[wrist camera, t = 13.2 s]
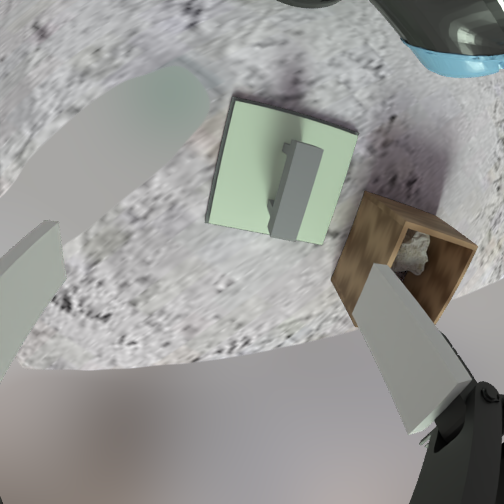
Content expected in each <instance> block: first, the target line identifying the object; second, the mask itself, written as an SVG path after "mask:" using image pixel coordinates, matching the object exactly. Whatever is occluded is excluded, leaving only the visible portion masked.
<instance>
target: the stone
mask: <svg viewBox="0 0 504 504" xmlns="http://www.w3.org/2000/svg"><path fill="white" fill-rule="evenodd" d="M429 244H430V235H428V234H425V233H421V232H418V231H415V230H412V229H409V228H408V230H407V232H406V235H405V237H404V239H403V242H402V244H401V246H400V249H399V251H398V253H397V255H396V258H395V260H394V262H393V264H392V266H391V270H392V271H393V272H398V271H401V272H402V271H407V270H408V271H410V272H412V273H413V274H415V275H421V272H423V271H424V266H425V263H426V262H427V261H428V256H427V253H426V251H427V249H428V246H429Z"/></svg>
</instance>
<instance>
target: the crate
mask: <svg viewBox="0 0 504 504" xmlns="http://www.w3.org/2000/svg"><path fill="white" fill-rule="evenodd" d="M408 228H409V229H412V230H415V231H418V232H421V233H425V234H428V235H430V244H429V246H428V249H427V251H426V253H427V256H428V261H427V262H426V263H425V266H424V271H423V272H421V275H415V274H413V273H412V272H410V271H408V272H407V274H406V276H405V278H404V280H403V282H402V283H403V284H404V285H405V287H406V288H407V289H408V290H409V292H410V293H411V294H412V295H413V297H414V298H415V299H416V301H417V302H418V303H419V304H420V306H421V307H422V308H423V310H424V311H425V312H426V314H427V315H428V316H429V318H430V319H431V320H432V322H433V323H434V324H435V325H436V323H437V321H438V320H439V318H440V317H441V315H442V313H443V312H444V310H445V308H446V307H447V305H448V303H449V302H450V300H451V298H452V297H453V295H454V293H455V291H456V289H457V288H458V286H459V284H460V282H461V280H462V278H463V276H464V274H465V272H466V270H467V269H468V267H469V265H470V262H471V260H472V258H473V256H474V254H475V252H476V250H477V248H478V246H477V245H476V244H474V243H473V242H472V241H471V240H469V239H468V238H466V237H465V236H464V235H462V234H461V233H460V232H458V231H457V230H456V229H454V228H453V227H451V226H450V225H448V224H447V223H446V222H444V221H443V220H441V219H440V218H438V217H437V216H435V215H433V214H430V213H427V212H425V211H422V210H419V209H417V208H414V207H411V206H408V205H406V204H403V203H400V202H397V201H394V200H391V199H388V198H385V197H382V196H379V195H376V194H373V193H370V192H367V191H365V192H364V195H363V198H362V201H361V204H360V206H359V209H358V212H357V215H356V217H355V220H354V223H353V225H352V228H351V231H350V233H349V236H348V239H347V241H346V244H345V246H344V249H343V251H342V254H341V256H340V259H339V261H338V264H337V266H336V269H335V271H334V273H333V276H332V278H331V282H332V283H333V285H334V287H335V289H336V291H337V293H338V295H339V297H340V299H341V301H342V302H343V304H344V306H345V308H346V310H347V312H348V314H349V316H350V318H351V320H352V322H353V324H354V326H355V327H358V325H357V323H356V321H355V319H354V317H353V315H352V312H353V310H354V308H355V306H356V304H357V301H358V299H359V297H360V295H361V292H362V290H363V288H364V285H365V283H366V281H367V278H368V276H369V273H370V271H371V268H372V266H373V263H376V264H383V265H388V266H389V267H390V268H391V266H392V264H393V262H394V260H395V258H396V255H397V253H398V251H399V249H400V246H401V244H402V242H403V239H404V237H405V235H406V232H407V230H408Z"/></svg>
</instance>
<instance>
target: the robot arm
mask: <svg viewBox="0 0 504 504" xmlns="http://www.w3.org/2000/svg"><path fill="white" fill-rule="evenodd" d="M277 1H279V2H282V3H285V4H288V5H291V6H295V7H301V8H322V7H327V6H331V5H333V4H336V3H337V2H339V1H341V0H277ZM369 1H370V2H371V3H372V4H373V5H374V6H375V7H376V8H377V10H378V11H379V12H380V13H381V14H382V15H383V16H384V17H385V19H386V20H387V21H388V22H389V23H390V25H391V26H392V27H393V28H394V29H395V31H396V32H397V33H398V34H399V36H400V39H401V40H402V42H403V43H404V44H405V45H406V46H408V47H409V48H410V49H411V50H412V51H413V53H414V54H415V55H416V57H417V58H418V59H419V61H420V62H421V63H422V64H423V65H424V66H425V67H426V68H427V69H428V70H430V71H432V72H435V73H437V74H439V75H442V76H446V77H453V78H471V77H480V76H486V75H490V74H494V73H497V72H499V69H504V0H369ZM66 279H67V278H66V272H65V266H64V259H63V252H62V245H61V236H60V227H59V222H56V221H48V220H45V221H43V222H42V223H41V224H40V225H38V226H37V227H36V228H35V229H33V230H32V231H31V232H30V233H29V234H27V235H26V236H25V237H24V238H23V239H21V240H20V241H19V242H18V243H17V244H16V245H15V246H13V247H12V248H11V249H10V250H9V251H8V252H7V253H6V254H5V255H3V257H1V258H0V383H1V381H2V379H3V377H4V375H5V374H6V372H7V370H8V368H9V366H10V364H11V363H12V361H13V359H14V358H15V356H16V354H17V352H18V351H19V349H20V347H21V346H22V344H23V342H24V341H25V339H26V338H27V336H28V334H29V333H30V331H31V330H32V328H33V326H34V325H35V323H36V322H37V320H38V319H39V317H40V316H41V314H42V313H43V311H44V310H45V308H46V307H47V306H48V304H49V303H50V301H51V300H52V298H53V297H54V296H55V294H56V293H57V291H58V290H59V289H60V287H61V286H62V285H63V283H64V282H65V281H66ZM352 315H353V317H354V319H355V321H356V323H357V325H358V327H359V329H360V331H361V333H362V335H363V337H364V339H365V341H366V343H367V345H368V347H369V349H370V351H371V353H372V356H373V358H374V360H375V362H376V364H377V366H378V368H379V370H380V372H381V375H382V377H383V379H384V381H385V383H386V385H387V388H388V390H389V392H390V394H391V397H392V399H393V401H394V403H395V406H396V408H397V410H398V412H399V415H400V417H401V419H402V422H403V424H404V426H405V429H406V431H407V434H408V435H410V434H413V433H417V432H420V431H424V430H425V429H426V428H427V427H428V426H429V425H430V424H431V423H432V422H433V421H435V423H436V425H437V427H436V428H434V429H433V430H432V431H431V432H430V433H429V434H428V435H427V436H426V437H424V438H423V439H422V440H421V442H420V443H419V445H422V444H424V443H425V442H426V441H427V440H428V439H430V441H429V443H428V444H427V445H425V447H426V448H427V452H426V455H425V459H424V462H423V466H422V469H421V472H420V475H419V478H418V481H417V484H416V487H415V490H414V492H413V495H412V498H411V500H410V503H409V504H504V443H502V436H503V435H504V395H502V394H499V393H498V391H497V390H496V389H495V388H494V386H492V385H491V384H489V383H487V382H484V381H482V382H479V383H477V382H476V380H475V379H474V377H473V376H472V374H471V373H470V371H469V369H468V368H467V366H466V365H465V363H464V362H463V360H462V359H461V357H460V356H459V355H457V352H456V350H455V349H454V348H452V344H451V343H450V342H449V340H448V339H447V337H446V336H445V335H444V334H443V333H441V332H440V331H439V330H438V328H437V327H436V326H435V324H434V323H433V322H432V320H431V319H430V318H429V316H428V315H427V314H426V312H425V311H424V310H423V308H422V307H421V306H420V304H419V303H418V302H417V301H416V299H415V298H414V297H413V295H412V294H411V293H410V292H409V290H408V289H407V288H406V287H405V285H404V284H403V283H402V282H401V281H400V279H399V278H398V277H397V276H396V274H395V273H394V272H393V271H392V270H391V268H390V267H389V266H388V265H383V264H376V263H373V266H372V268H371V271H370V273H369V276H368V278H367V281H366V283H365V285H364V288H363V290H362V292H361V295H360V297H359V299H358V301H357V304H356V306H355V308H354V310H353V312H352ZM0 504H3V502H2V500H1V497H0Z"/></svg>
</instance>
